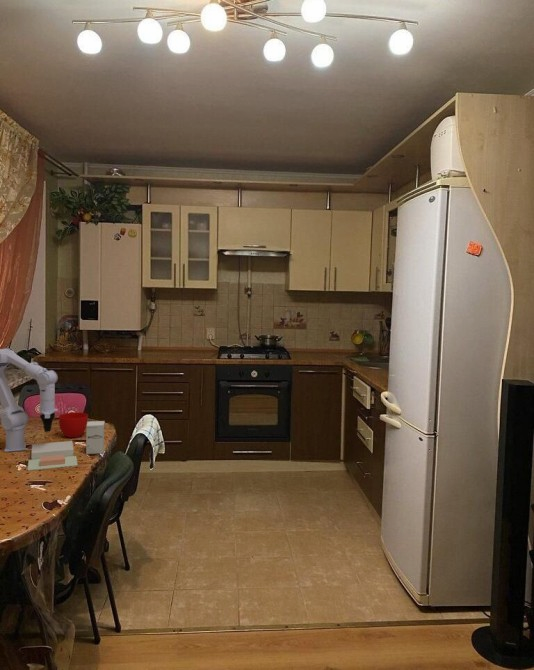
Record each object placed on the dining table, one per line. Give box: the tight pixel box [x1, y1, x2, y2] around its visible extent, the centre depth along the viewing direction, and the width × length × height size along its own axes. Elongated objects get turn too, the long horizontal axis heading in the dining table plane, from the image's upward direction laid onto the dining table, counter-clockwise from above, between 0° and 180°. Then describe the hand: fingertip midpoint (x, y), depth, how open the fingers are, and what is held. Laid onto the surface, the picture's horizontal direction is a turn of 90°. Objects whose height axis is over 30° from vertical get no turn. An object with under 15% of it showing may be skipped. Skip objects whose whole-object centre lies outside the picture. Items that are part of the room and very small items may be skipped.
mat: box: [26, 455, 78, 472], centre depth 203 cm, size 12×18×1 cm, turn 113°
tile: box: [40, 455, 65, 466], centre depth 203 cm, size 6×9×2 cm, turn 113°
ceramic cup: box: [58, 411, 89, 438], centre depth 244 cm, size 13×17×10 cm
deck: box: [30, 440, 75, 460], centre depth 215 cm, size 13×16×3 cm
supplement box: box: [85, 420, 106, 455], centre depth 220 cm, size 7×7×13 cm
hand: (47, 431), depth 216 cm, fingers closed
